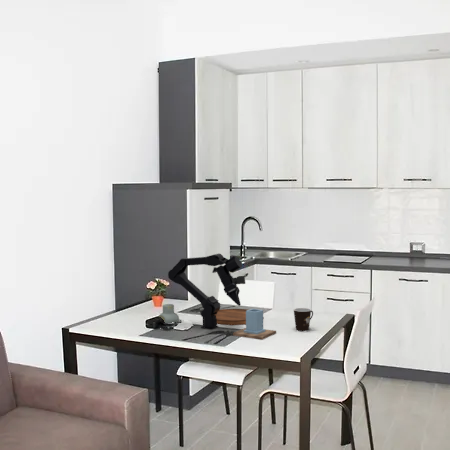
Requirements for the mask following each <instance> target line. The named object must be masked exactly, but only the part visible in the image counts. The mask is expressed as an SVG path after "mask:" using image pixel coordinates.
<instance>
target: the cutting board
mask: <svg viewBox="0 0 450 450" xmlns="http://www.w3.org/2000/svg"><path fill="white" fill-rule="evenodd" d="M247 310H249V308H248V309H246V308H225V309H224V308H223V309H219V311H218V312H217V314H215V315H216V318H217V325H220V326H221V325H222V326H246V311H247ZM263 320H264V316H263Z"/></svg>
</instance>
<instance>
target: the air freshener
mask: <svg viewBox="0 0 450 450" xmlns="http://www.w3.org/2000/svg"><path fill="white" fill-rule="evenodd" d="M158 317H161V318H162V319H163V320H164V322H165V323H172V322H176V323H178V322H177V321H180V317H179V314H178V313H176V312H175V305H174V304H173V303H167V304H166V303H164V304H163V305H162V312H161V313H160V314H159V315H158Z"/></svg>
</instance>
